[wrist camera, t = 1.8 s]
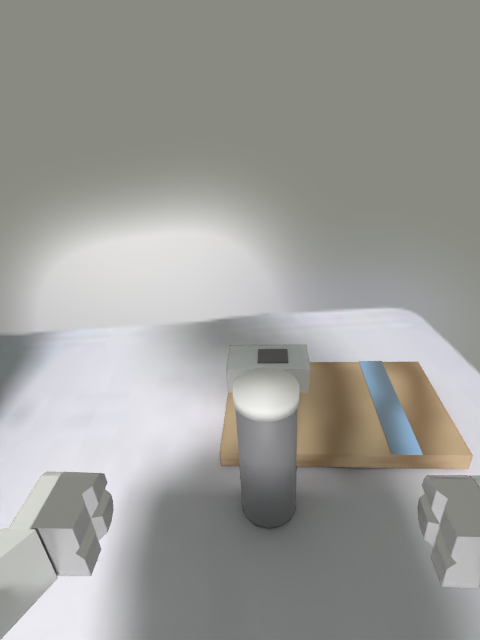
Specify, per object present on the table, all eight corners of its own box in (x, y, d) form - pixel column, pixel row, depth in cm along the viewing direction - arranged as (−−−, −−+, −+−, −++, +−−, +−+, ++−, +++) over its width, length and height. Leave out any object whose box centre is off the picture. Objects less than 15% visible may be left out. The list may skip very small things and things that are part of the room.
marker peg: (239, 528, 29) (229, 409, 23) (242, 479, 32) (234, 367, 27) (298, 529, 28) (302, 409, 23) (294, 480, 32) (297, 367, 27)
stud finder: (228, 392, 40) (226, 368, 38) (231, 367, 44) (229, 344, 42) (309, 392, 39) (310, 367, 38) (305, 366, 43) (306, 343, 42)
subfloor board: (221, 465, 34) (219, 451, 33) (233, 374, 45) (232, 362, 44) (468, 468, 32) (472, 454, 31) (415, 373, 43) (418, 360, 43)
